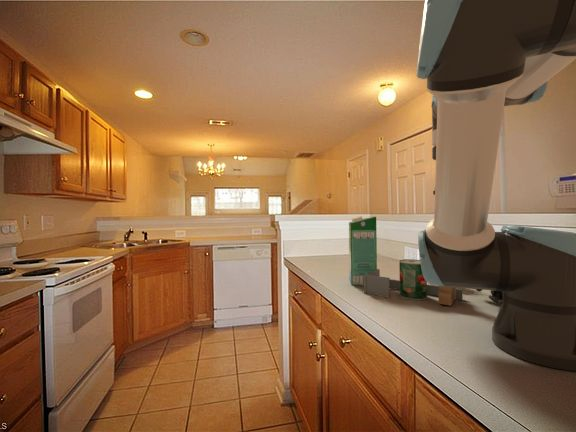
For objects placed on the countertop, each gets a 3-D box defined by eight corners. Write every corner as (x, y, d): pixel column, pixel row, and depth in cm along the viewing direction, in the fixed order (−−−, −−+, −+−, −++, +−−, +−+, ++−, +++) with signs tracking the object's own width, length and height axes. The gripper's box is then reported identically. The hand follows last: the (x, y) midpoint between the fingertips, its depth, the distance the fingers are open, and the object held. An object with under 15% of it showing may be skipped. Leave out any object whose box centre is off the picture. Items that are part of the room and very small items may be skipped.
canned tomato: (430, 301, 82) (429, 263, 82) (401, 299, 84) (401, 263, 84) (423, 293, 90) (423, 259, 90) (397, 292, 92) (397, 258, 91)
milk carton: (349, 279, 110) (348, 216, 110) (372, 279, 109) (372, 216, 108) (351, 285, 101) (350, 216, 101) (377, 285, 100) (376, 216, 99)
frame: (456, 310, 74) (456, 287, 74) (364, 293, 91) (363, 274, 91) (462, 299, 84) (462, 279, 84) (378, 285, 100) (377, 269, 100)
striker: (450, 305, 76) (450, 240, 76) (438, 303, 78) (438, 239, 78) (456, 297, 83) (455, 237, 83) (444, 295, 85) (444, 237, 85)
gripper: (454, 133, 68) (455, 219, 69) (467, 150, 88) (468, 217, 88) (421, 138, 73) (422, 219, 73) (441, 153, 93) (441, 217, 93)
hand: (447, 218), depth 81 cm, fingers open, 13 cm apart
